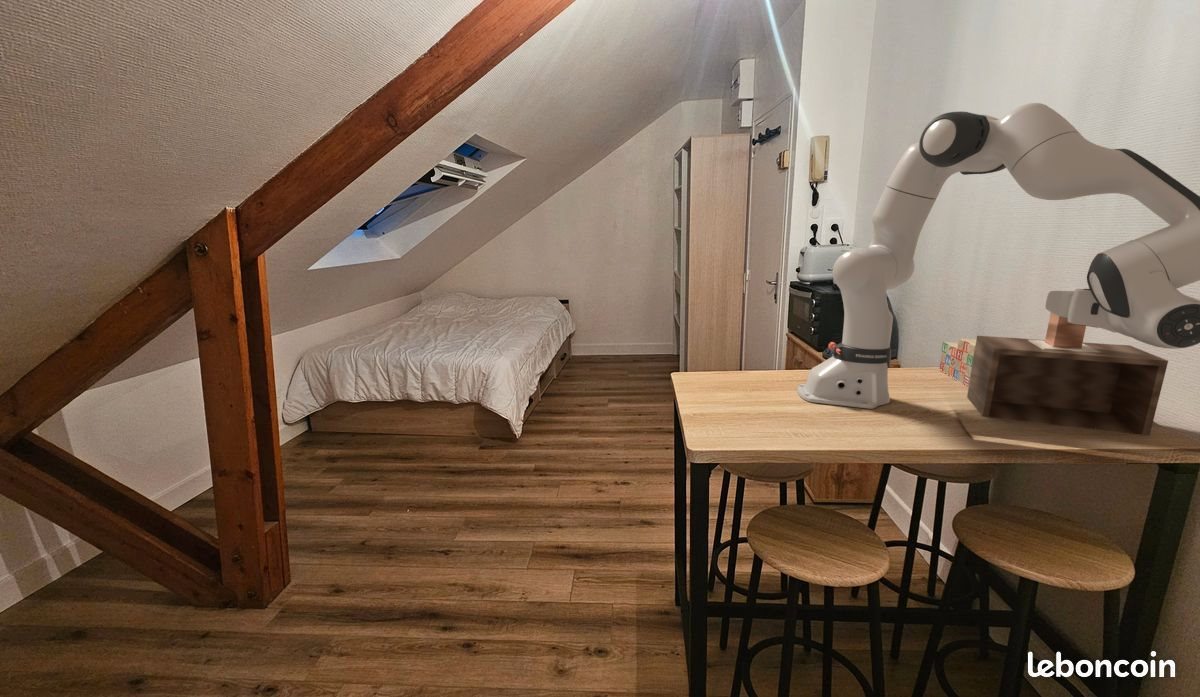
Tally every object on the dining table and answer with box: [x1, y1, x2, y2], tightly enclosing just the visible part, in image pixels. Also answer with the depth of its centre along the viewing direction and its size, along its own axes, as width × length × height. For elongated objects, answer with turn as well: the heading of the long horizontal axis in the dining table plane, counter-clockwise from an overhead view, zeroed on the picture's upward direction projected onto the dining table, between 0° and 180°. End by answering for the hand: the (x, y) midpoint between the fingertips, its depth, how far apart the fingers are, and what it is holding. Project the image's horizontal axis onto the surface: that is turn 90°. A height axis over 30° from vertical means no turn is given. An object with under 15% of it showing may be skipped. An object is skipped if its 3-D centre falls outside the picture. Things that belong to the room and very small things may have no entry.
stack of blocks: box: [939, 338, 977, 387], centre depth 152 cm, size 21×6×12 cm, turn 170°
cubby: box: [966, 335, 1169, 436], centre depth 121 cm, size 29×15×18 cm, turn 67°
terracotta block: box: [1044, 312, 1087, 349], centre depth 118 cm, size 5×5×10 cm
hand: (1098, 299), depth 106 cm, fingers open, 8 cm apart
